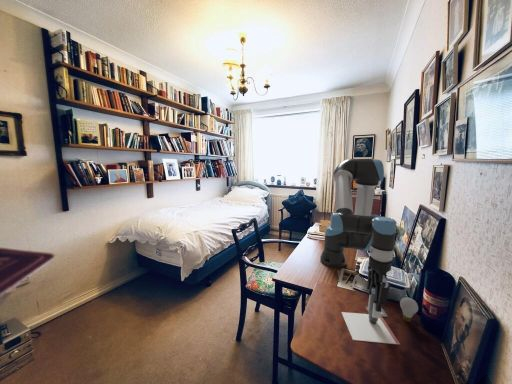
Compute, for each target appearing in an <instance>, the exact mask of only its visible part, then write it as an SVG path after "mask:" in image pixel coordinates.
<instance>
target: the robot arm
mask: <svg viewBox="0 0 512 384" xmlns="http://www.w3.org/2000/svg"><path fill="white" fill-rule="evenodd" d="M332 177H333V181H334V182H335V184H334V185H335V186H334V187H335V188H334V193H335V194H334V195H335V196H334V198H335V202H334V203H335V209H334V212H331V215H330V225H328V226H326V227H325V231H324V243H323V246H324V247H323V250H322V252H321V255H320V256H319V257H320V262H321V263H322V264H323V265H325V266H328V267H330V268H331V267H332V268H344V267H345V266H346V264H347V263H346V262H347V260H346V255H345V251H344V250H345V249H351V250H358V251H366V252H368V251H369V257H368V266H367V283H366V290H368V295H369V296H368V305H367V307H368V310H370V301H371V291H372V288H373V287H376V293H375V301H373V302H374V303H373V312H372V317H373V318H380V315H381V308H382V306H387V302H388V297H389V291H390V287H391V285H392V284H391V282H388V280H387V278H388V275H387V273H388V272H390V271H392V263H393V257H394V248H395V241H396V234H397V225H398V224H397V223H398V222H397V221H396V220H395V219H394V218H391V217H387V216H380V215H378V214H372V212H373V203H374V197H375V189H376V187H377V186H379V182H383V181H384V177H385V170H384V163H383V161H382V160H380V159H376V158H375V159H374V158H348V159H345V160H343V161H342V162H340V163H339V164H338V165H337V166H336V168H335V169H334V172H333V175H332ZM352 181H355V182H354V183H355V184H356V186H357V187H356V188H357V189H356V190H357V191H356V197H355V199H356V200H355V207H354V205H353V203H354V202H353V194H352V193H353V192H352V191H353V190H352Z"/></svg>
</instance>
